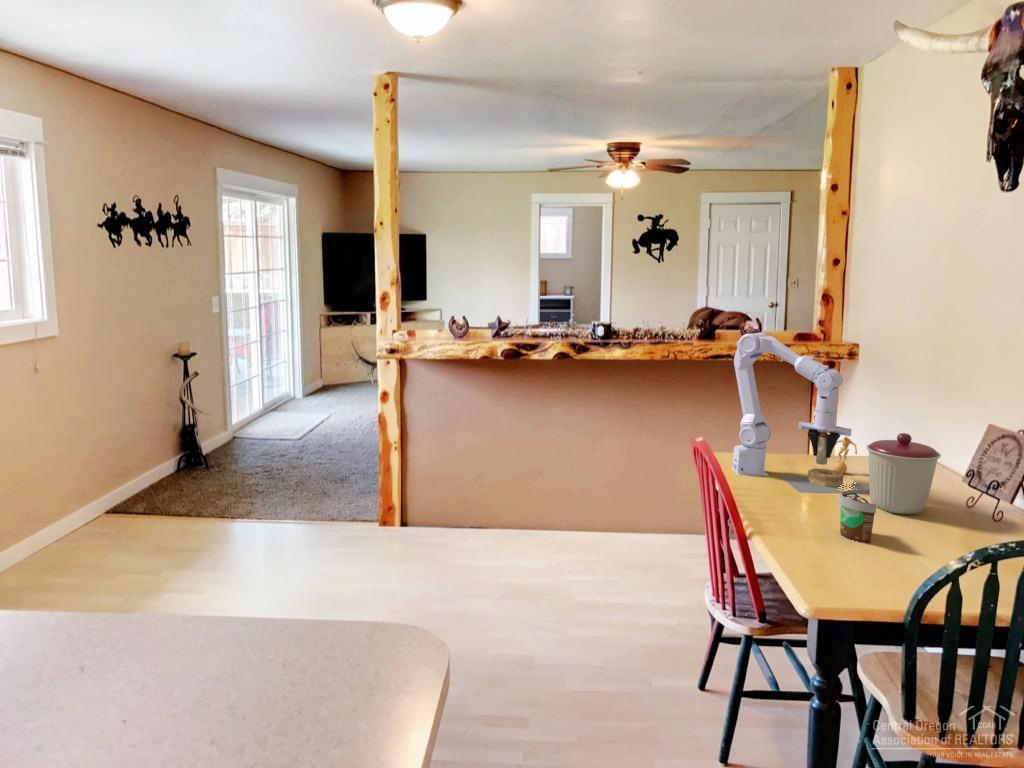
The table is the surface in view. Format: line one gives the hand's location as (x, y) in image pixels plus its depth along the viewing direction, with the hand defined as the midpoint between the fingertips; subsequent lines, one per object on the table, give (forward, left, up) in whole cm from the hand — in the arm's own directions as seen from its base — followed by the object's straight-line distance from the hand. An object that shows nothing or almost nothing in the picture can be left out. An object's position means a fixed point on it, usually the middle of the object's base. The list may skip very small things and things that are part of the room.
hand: (821, 456), depth 232 cm
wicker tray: (+4, +5, -9) cm, 11 cm away
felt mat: (+3, +2, -10) cm, 10 cm away
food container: (-9, -42, -10) cm, 44 cm away
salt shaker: (0, 0, -2) cm, 2 cm away
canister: (+14, -19, -10) cm, 25 cm away
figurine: (+14, +17, -10) cm, 24 cm away
